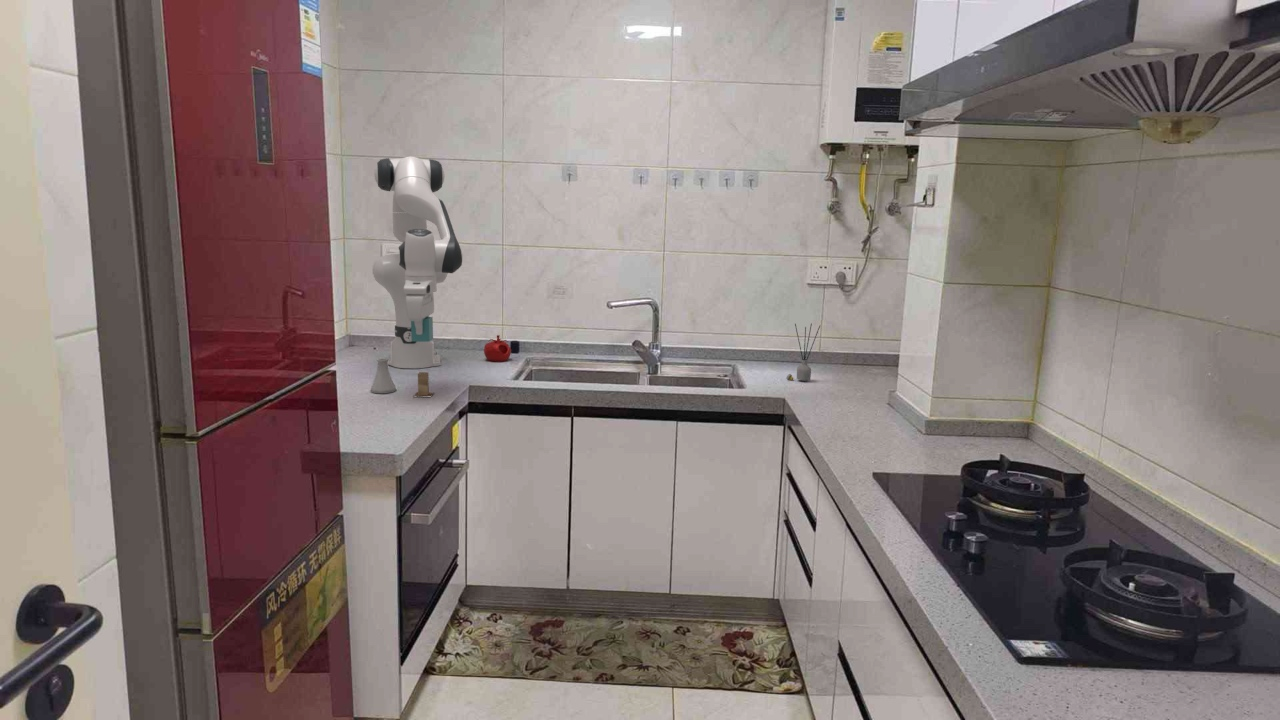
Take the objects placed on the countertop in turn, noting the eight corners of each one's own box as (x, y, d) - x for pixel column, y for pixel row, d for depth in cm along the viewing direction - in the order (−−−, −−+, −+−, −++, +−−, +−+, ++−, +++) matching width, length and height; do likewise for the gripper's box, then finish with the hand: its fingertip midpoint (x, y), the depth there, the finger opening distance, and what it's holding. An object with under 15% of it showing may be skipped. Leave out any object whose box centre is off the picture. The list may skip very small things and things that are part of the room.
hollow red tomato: (479, 361, 303) (479, 336, 301) (490, 357, 312) (490, 332, 311) (505, 363, 301) (504, 338, 299) (515, 358, 310) (515, 334, 308)
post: (417, 393, 251) (416, 371, 250) (433, 393, 251) (433, 371, 250) (413, 397, 246) (412, 374, 245) (430, 397, 246) (429, 374, 245)
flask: (365, 392, 251) (364, 359, 249) (383, 387, 257) (382, 356, 256) (383, 395, 248) (382, 362, 246) (401, 390, 254) (400, 358, 252)
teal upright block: (415, 338, 248) (414, 316, 247) (433, 338, 248) (432, 316, 247) (411, 341, 243) (410, 319, 242) (429, 341, 243) (429, 319, 242)
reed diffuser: (816, 380, 285) (820, 322, 281) (817, 384, 278) (821, 325, 275) (786, 378, 287) (789, 321, 283) (786, 382, 280) (789, 323, 276)
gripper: (417, 282, 253) (418, 327, 255) (401, 288, 233) (403, 337, 235) (438, 282, 253) (439, 327, 256) (424, 289, 233) (425, 338, 235)
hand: (422, 332), depth 245 cm, fingers closed on teal upright block, 5 cm apart
